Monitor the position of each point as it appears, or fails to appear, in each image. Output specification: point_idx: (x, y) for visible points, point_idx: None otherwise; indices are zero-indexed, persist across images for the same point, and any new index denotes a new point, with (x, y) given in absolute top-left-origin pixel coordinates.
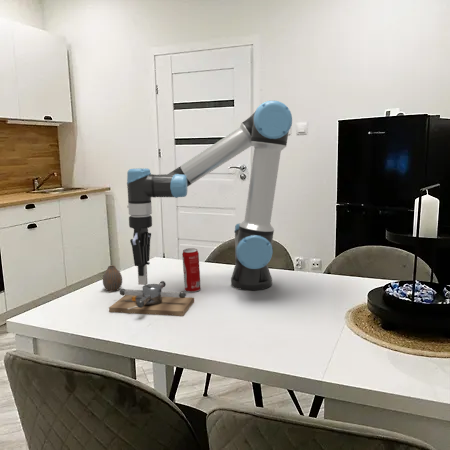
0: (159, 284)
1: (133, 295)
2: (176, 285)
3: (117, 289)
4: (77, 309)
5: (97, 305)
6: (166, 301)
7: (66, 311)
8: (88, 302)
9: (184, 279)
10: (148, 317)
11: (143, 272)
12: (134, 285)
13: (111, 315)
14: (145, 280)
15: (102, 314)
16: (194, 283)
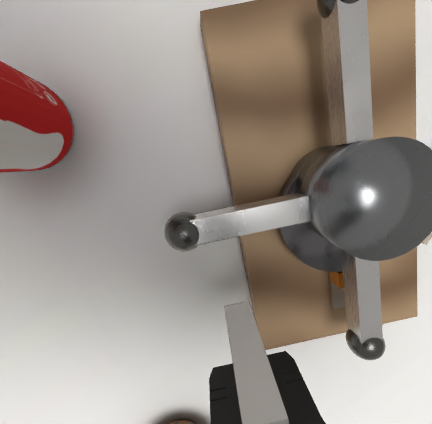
0: (334, 177)
1: (266, 316)
2: (9, 244)
3: (185, 421)
4: (395, 405)
5: (349, 377)
6: (299, 133)
7: (417, 420)
8: (329, 418)
9: (25, 154)
10: (428, 138)
11: (276, 373)
12: (101, 401)
13: (429, 279)
14: (254, 319)
15: (424, 311)
16: (26, 79)
